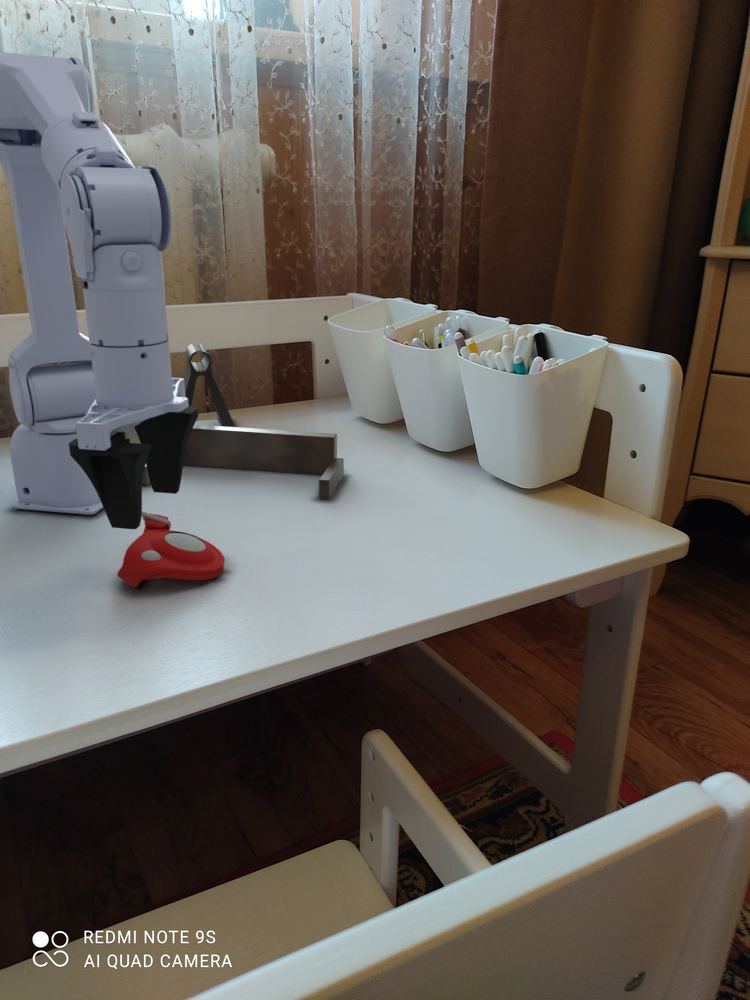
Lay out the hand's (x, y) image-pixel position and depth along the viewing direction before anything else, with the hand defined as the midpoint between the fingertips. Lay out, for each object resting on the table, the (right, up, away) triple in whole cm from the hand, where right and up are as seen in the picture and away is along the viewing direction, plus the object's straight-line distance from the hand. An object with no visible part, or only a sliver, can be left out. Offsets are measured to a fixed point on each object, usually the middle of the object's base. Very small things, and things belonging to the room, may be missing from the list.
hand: (147, 508), depth 63 cm
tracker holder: (0, -6, +10) cm, 11 cm away
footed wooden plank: (+3, +3, +32) cm, 32 cm away
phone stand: (-7, +11, +51) cm, 53 cm away
